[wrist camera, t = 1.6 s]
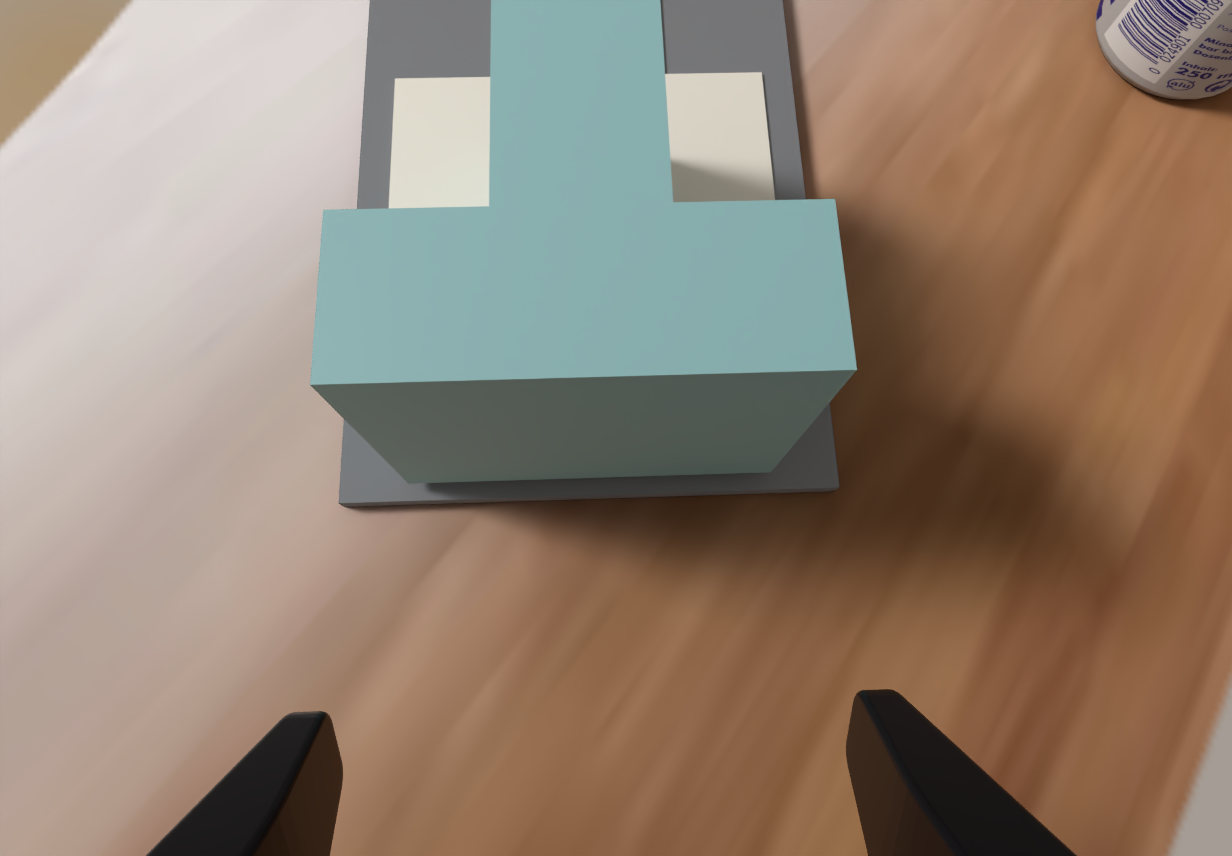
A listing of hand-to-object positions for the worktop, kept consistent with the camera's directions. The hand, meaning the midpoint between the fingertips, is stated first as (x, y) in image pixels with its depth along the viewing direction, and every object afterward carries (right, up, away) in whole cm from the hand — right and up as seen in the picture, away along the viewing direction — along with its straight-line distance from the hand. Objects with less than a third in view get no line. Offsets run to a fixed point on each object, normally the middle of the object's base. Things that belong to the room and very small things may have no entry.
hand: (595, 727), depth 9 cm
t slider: (-1, +7, +15) cm, 17 cm away
